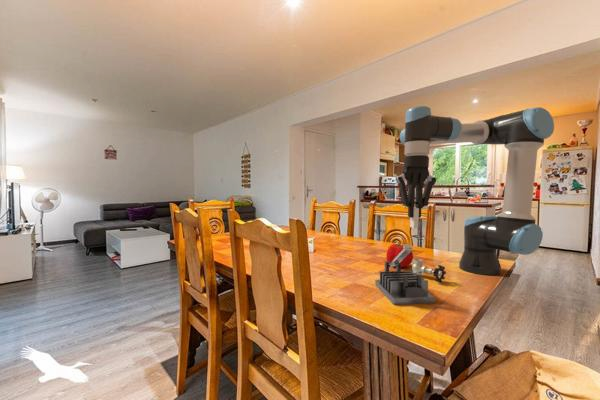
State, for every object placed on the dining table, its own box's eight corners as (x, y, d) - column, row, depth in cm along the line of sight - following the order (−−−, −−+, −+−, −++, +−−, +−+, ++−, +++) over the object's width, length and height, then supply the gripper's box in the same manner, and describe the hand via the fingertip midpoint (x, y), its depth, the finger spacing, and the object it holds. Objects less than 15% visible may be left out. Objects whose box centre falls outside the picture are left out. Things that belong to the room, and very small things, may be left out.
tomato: (381, 263, 131) (381, 241, 130) (403, 262, 133) (403, 240, 133) (394, 271, 119) (394, 247, 119) (418, 269, 121) (418, 246, 121)
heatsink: (374, 284, 103) (374, 261, 103) (408, 283, 104) (409, 260, 104) (393, 304, 86) (393, 277, 85) (434, 303, 86) (435, 276, 86)
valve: (407, 275, 113) (435, 284, 103) (408, 259, 113) (436, 266, 103) (417, 273, 117) (445, 281, 106) (418, 257, 116) (446, 264, 106)
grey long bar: (388, 267, 103) (387, 261, 104) (396, 267, 103) (394, 261, 104) (404, 250, 89) (403, 244, 90) (413, 250, 89) (411, 244, 90)
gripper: (429, 157, 96) (427, 226, 97) (392, 156, 95) (390, 225, 96) (442, 155, 88) (439, 229, 89) (402, 153, 87) (399, 228, 88)
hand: (414, 227), depth 92 cm, fingers closed
